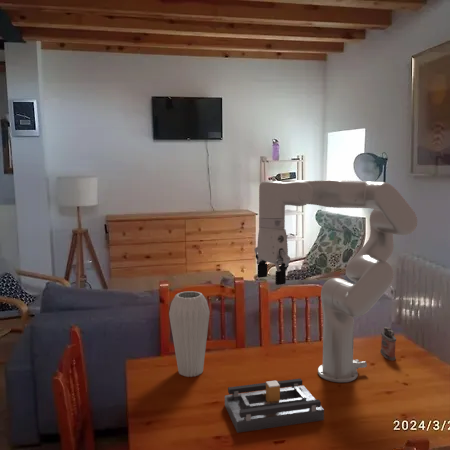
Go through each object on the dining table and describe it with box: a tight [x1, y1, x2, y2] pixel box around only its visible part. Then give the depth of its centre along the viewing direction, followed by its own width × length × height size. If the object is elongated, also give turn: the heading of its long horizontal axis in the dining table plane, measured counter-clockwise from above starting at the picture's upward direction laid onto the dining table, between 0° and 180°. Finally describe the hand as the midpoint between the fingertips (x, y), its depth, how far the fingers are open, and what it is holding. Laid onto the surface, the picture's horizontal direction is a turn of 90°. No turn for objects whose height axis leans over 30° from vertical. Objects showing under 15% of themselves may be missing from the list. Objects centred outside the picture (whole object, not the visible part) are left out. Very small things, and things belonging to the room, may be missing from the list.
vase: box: [168, 290, 211, 378], centre depth 153 cm, size 13×13×26 cm
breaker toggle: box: [265, 380, 280, 402], centre depth 128 cm, size 3×3×5 cm
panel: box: [224, 384, 325, 434], centre depth 128 cm, size 24×14×5 cm, turn 103°
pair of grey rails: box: [227, 378, 322, 421], centre depth 128 cm, size 22×14×2 cm, turn 103°
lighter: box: [380, 326, 397, 361], centre depth 165 cm, size 8×3×10 cm, turn 6°
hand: (271, 280), depth 139 cm, fingers open, 9 cm apart
